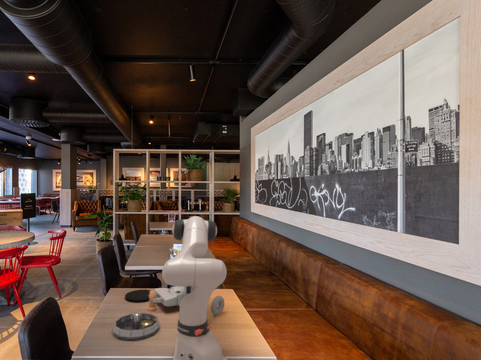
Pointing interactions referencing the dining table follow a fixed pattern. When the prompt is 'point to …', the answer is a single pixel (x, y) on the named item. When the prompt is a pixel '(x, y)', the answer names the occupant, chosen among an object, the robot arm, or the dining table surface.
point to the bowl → (135, 326)
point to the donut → (220, 302)
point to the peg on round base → (151, 305)
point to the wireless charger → (138, 296)
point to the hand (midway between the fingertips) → (150, 298)
